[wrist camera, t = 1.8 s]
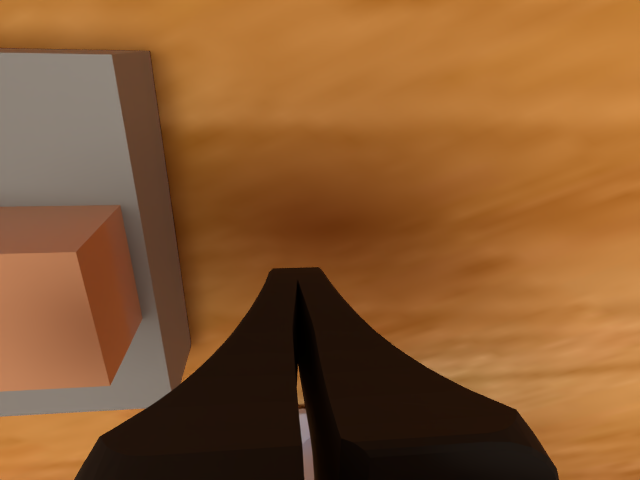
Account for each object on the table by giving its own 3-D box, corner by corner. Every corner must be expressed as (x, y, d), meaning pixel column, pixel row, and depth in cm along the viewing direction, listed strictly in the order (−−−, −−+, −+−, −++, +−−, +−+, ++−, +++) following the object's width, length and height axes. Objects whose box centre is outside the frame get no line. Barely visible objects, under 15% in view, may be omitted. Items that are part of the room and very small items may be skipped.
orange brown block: (142, 318, 14) (110, 386, 11) (14, 323, 14) (-52, 393, 11) (120, 205, 12) (75, 252, 10) (-28, 206, 12) (-118, 257, 9)
